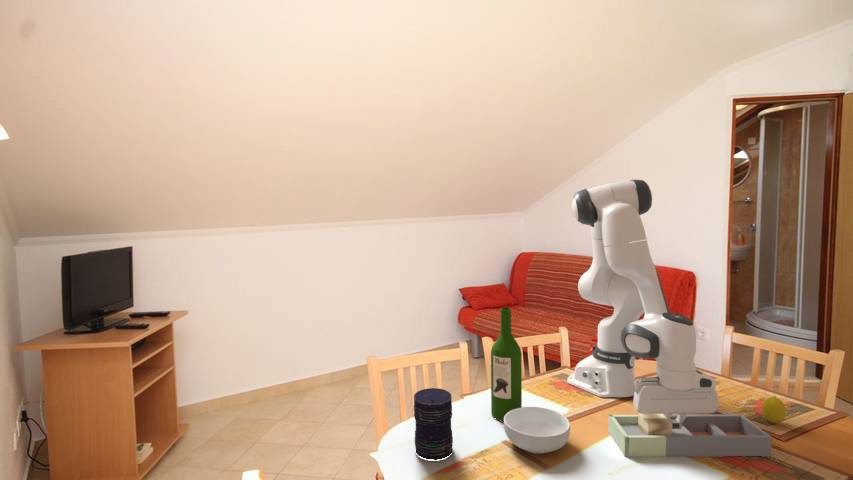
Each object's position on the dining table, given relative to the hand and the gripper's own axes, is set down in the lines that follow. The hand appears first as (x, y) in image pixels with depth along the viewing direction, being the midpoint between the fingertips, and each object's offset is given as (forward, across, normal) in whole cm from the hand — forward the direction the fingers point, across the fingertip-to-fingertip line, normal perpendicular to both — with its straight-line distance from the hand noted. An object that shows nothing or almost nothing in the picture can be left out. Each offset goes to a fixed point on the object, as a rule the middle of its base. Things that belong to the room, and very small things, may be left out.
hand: (674, 428), depth 124 cm
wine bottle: (+4, -41, +17) cm, 45 cm away
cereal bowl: (+5, -36, 0) cm, 36 cm away
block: (+1, -5, 0) cm, 5 cm away
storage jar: (+4, -62, -3) cm, 63 cm away
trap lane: (+4, +3, 0) cm, 5 cm away
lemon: (+5, +32, +10) cm, 34 cm away
